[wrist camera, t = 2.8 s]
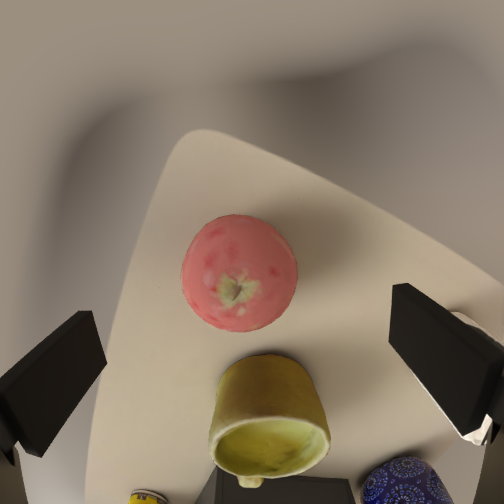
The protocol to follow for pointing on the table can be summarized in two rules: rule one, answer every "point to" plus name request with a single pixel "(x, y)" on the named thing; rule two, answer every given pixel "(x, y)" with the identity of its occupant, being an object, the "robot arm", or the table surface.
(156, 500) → the supplement bottle
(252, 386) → the mug
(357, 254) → the table surface
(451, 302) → the table surface
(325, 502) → the dark grey open box
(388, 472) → the planter
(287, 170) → the table surface
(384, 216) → the table surface
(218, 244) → the apple
